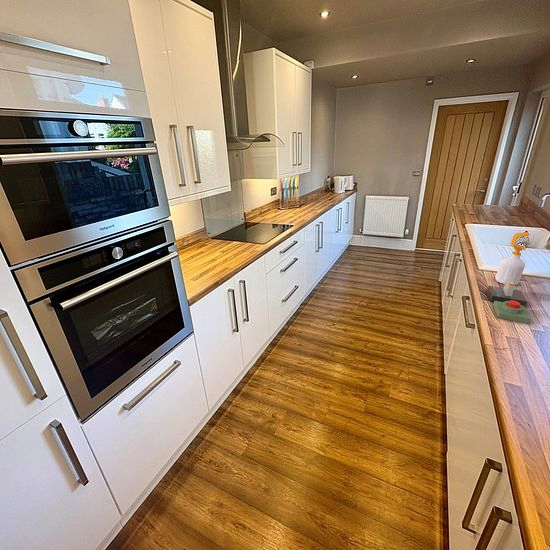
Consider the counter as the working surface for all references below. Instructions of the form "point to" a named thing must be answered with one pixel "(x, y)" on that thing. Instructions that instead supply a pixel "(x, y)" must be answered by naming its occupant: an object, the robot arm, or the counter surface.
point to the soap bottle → (512, 263)
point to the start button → (513, 304)
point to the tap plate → (500, 296)
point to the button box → (511, 312)
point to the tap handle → (509, 287)
